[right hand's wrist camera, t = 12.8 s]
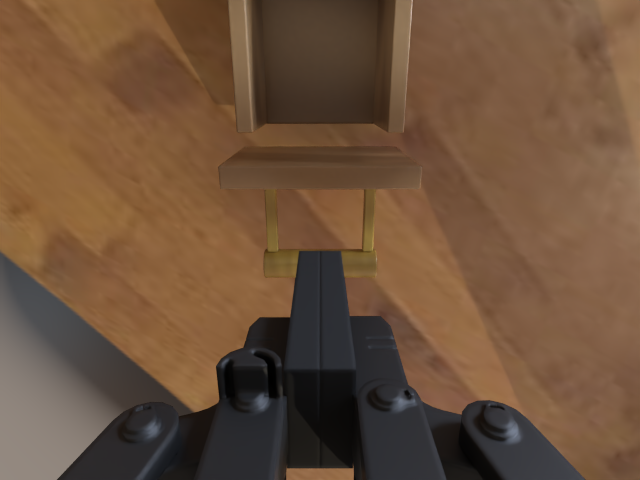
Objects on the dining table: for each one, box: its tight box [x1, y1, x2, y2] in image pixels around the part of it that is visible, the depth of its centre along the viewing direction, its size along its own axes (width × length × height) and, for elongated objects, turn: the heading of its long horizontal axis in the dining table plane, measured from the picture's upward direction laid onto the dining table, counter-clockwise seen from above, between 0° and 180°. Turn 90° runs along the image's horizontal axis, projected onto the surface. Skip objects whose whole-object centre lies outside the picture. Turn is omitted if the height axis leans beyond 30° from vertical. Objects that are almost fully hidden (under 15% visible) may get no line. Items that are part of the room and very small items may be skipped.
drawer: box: [218, 0, 422, 278], centre depth 22 cm, size 26×10×8 cm, turn 0°
